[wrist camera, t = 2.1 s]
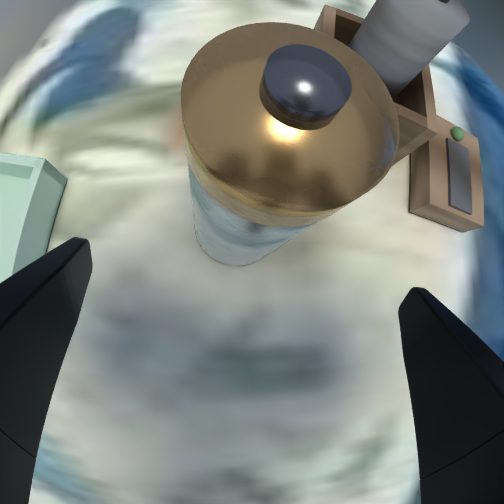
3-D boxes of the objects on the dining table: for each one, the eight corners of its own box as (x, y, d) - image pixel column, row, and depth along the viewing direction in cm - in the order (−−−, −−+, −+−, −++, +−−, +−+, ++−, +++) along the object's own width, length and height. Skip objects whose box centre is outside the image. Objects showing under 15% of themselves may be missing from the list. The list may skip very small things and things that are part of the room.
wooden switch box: (463, 232, 22) (491, 224, 19) (409, 212, 21) (437, 199, 18) (460, 148, 23) (484, 134, 20) (409, 123, 23) (432, 104, 19)
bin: (389, 167, 22) (520, 74, 9) (287, 133, 21) (373, -19, 8) (389, 88, 23) (479, -10, 10) (301, 55, 22) (362, -74, 9)
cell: (269, 275, 19) (417, 226, 5) (185, 256, 19) (140, 154, 5) (284, 195, 20) (409, 45, 6) (205, 176, 19) (218, -16, 6)
